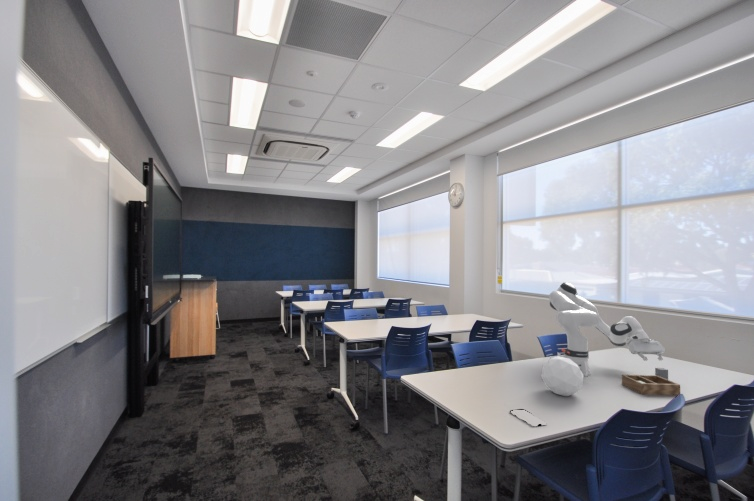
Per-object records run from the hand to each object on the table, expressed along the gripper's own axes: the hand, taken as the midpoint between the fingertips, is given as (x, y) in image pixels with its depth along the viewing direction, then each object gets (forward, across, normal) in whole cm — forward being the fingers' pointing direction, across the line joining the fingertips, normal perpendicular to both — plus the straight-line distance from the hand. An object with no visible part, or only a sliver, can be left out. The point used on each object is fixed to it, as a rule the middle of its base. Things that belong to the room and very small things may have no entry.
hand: (653, 360), depth 209 cm
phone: (+44, +102, +31) cm, 116 cm away
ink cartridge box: (+7, +59, -8) cm, 60 cm away
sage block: (+20, +24, +6) cm, 32 cm away
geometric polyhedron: (+25, +70, +10) cm, 75 cm away
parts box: (+21, +18, +6) cm, 28 cm away
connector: (+14, +3, -2) cm, 15 cm away
